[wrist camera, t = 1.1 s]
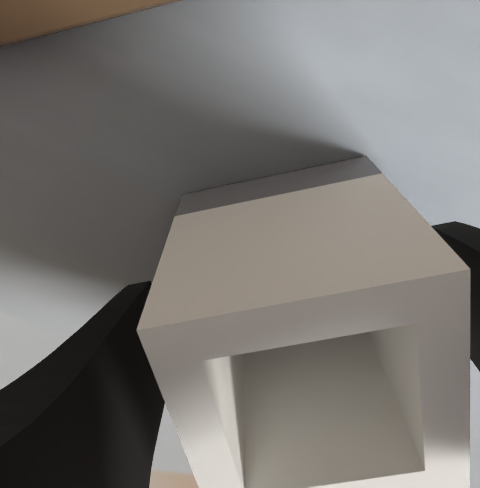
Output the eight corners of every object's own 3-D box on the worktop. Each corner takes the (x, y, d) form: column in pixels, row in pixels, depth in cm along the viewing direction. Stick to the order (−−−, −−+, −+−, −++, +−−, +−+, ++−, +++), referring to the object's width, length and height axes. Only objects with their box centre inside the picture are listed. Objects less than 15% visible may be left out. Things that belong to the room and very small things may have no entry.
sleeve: (366, 156, 12) (470, 269, 6) (381, 310, 14) (469, 492, 9) (181, 194, 12) (136, 329, 7) (224, 339, 14) (214, 527, 9)
